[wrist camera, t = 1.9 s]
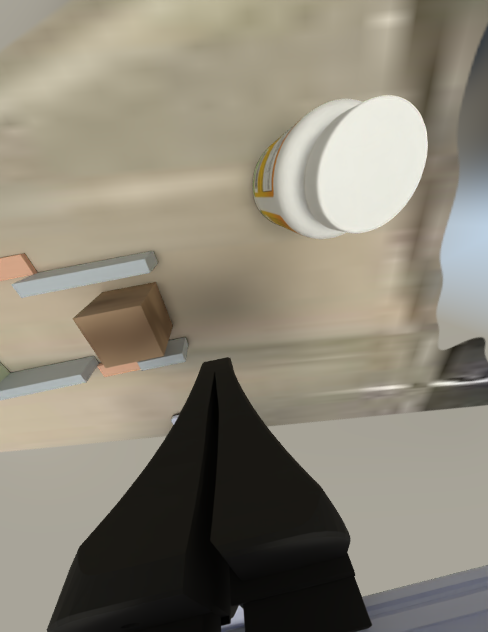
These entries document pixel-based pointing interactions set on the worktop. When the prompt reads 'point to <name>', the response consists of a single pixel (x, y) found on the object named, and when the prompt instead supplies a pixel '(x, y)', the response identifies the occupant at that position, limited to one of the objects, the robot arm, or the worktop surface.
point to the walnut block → (126, 325)
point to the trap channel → (75, 371)
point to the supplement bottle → (343, 167)
